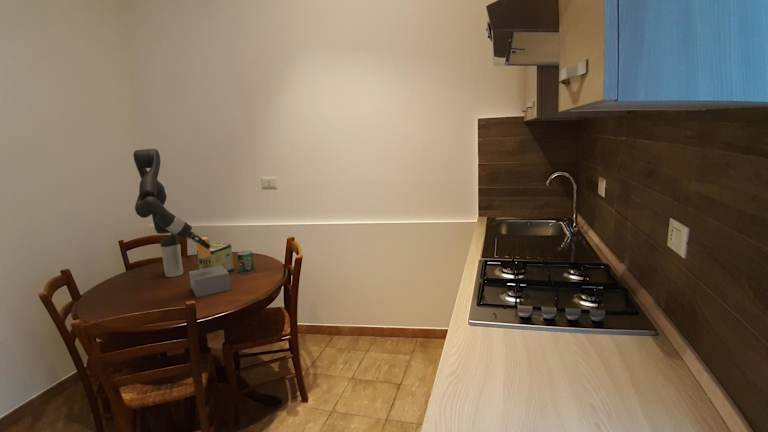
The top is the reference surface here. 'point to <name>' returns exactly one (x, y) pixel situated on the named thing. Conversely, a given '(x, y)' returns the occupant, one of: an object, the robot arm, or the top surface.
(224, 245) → the protein box
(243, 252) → the canned tomato
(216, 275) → the storage box
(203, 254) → the orange block
